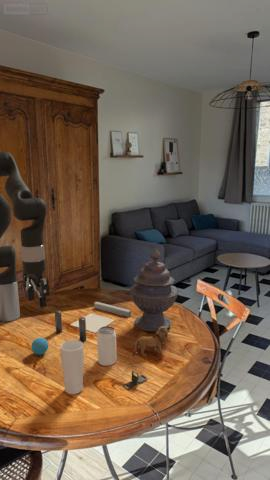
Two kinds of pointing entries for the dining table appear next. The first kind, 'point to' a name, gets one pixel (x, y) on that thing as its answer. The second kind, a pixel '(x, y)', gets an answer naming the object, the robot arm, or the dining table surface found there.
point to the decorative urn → (153, 294)
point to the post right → (82, 329)
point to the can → (106, 345)
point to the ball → (39, 346)
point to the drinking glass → (72, 365)
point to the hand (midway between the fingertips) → (37, 303)
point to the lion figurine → (152, 341)
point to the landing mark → (94, 322)
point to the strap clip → (135, 380)
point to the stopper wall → (112, 309)
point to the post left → (58, 321)
